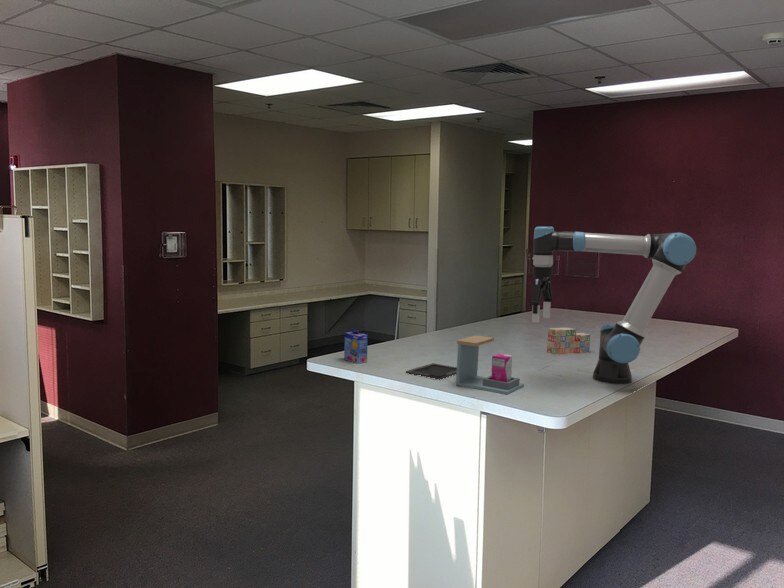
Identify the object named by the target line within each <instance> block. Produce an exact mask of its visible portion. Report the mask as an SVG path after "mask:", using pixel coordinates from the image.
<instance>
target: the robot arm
mask: <svg viewBox="0 0 784 588" xmlns="http://www.w3.org/2000/svg"><path fill="white" fill-rule="evenodd" d="M532 252H533V257H532V258H531V259H532V260H533V261H532V264H533V267H532V276H533V277H537V278H535V279H533V287H532V291H531V298H530V302H529V305H530V306H532V309H531V311H532V312H531V323H540V315H541V314H540V313H541V312H540V310H541V309H540V308H541V305H540V302H541V298H542V297H543V300H544V301H543V307H542V308H543V309H542V311H543V312H542V319H551V306H552V305H551V303H553V302H554V298H553V291H552V283H551V282H552V281H551V280H552V277H553V269H554V268H553V265H554V252H575V253H577V252H589V253H604V254H618V255H619V254H620V255H621V254H622V255H632V256H635V255H636V256H643V257H644V258H646V259H651V261H652V267H651V269H650V270H649V272H648V274H647V276H646V278H645V280H644V281H643V283H642V285H641V287H640V289H639V290H638V292H637V294H636V295H635V297H634V299H633V301H632V303H631V305H630V306H629V308H628V310H627V312H626V314H625V315H624V317H623V319H622V320H620V321H617V322H616V323H615V324H606V323H605V324H604V323H603V324H601V326H600V331H599V332H600V335H599V336H600V337H599V348H598V351H599V352H598V360H597V363H596V365H595V367H594V371H593V372H592V379H593V380H595V381H597V382H600V383H604V384H613V385H628V384H632V380H633V377H632V372H631V367H630V365H629V364H630V363H632V362H633V361H635V360H636V359H637V358H638V356H639V355H640V351H641V345H642V343H643V341H644V339H645V337H646V336H645V332H644V330H645V329H646V327H647V326H648V324H649V323H650V321H651V319H652V317H653V315H654V313H655V311H656V310H657V308H658V307H659V304H660V303H661V301H662V299H663V297H664V296H665V294H666V292H667V290H668V288H670V285H671V283H672V282H673V281H674V278H675V277H676V276H677V275H680V274H682V273H683V271H684V270H685V267H686V266H687V264H690V262H692V260H693V259H694V258H695V256H696V254H697V245H696V242H695V241H694V239H693V238H692V237H691V236H690V235H688V234H686V233H683V232H666V233H655V234H653V233H647V234H646V235H645V236H644V235H630V234H629V235H628V234H611V233H610V234H609V233H597V232H594V233H593V232H584V231H568V230H567V231H566V230H564V231H556V230H555V228H554V226H536V227H535V228H534V232H533V251H532Z"/></svg>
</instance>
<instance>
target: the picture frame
mask: <svg viewBox="0 0 784 588" xmlns="http://www.w3.org/2000/svg"><path fill="white" fill-rule="evenodd" d="M406 373H409V374H408V375H411V374H415V375H414V376H417V375H421V376H420V377H422V376H426V377H425V378H427V377H430V378H429V379H432V378H435V379H434V380H437V379H441V380H444V379H446V377H447V378H449V376H450V377H452V375H453V376H455V374H457V366H451V365H450V366H449V365H445V364H440V363H439V364H438V363H434V362H432V363H428V364H425V365H422V366H419V367H415V368H411V369H408V370H405V374H406ZM443 378H444V379H443Z"/></svg>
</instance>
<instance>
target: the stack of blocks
mask: <svg viewBox="0 0 784 588" xmlns="http://www.w3.org/2000/svg"><path fill="white" fill-rule="evenodd" d="M547 333H548V334H547V347H546V348H547V349H546V352H547V353H549V354H552V355H569V354H568V353H574V354H587V353H586V352H589V353H590V345H591V334H589V333H585V332H577V329H576V328H572V327H549V328H548V332H547Z"/></svg>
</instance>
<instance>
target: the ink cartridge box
mask: <svg viewBox="0 0 784 588" xmlns="http://www.w3.org/2000/svg"><path fill="white" fill-rule="evenodd" d="M350 329H351V331H347V332H346V331H345V332H344V350H343V351H344V353H343V354H344V355H343V358H344V360H345V361H348V362H352V363H356V364H363V363H367V362H368V340H369V338H368V334H365V333H360V332H359V331H358V329H356V328H350Z"/></svg>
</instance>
